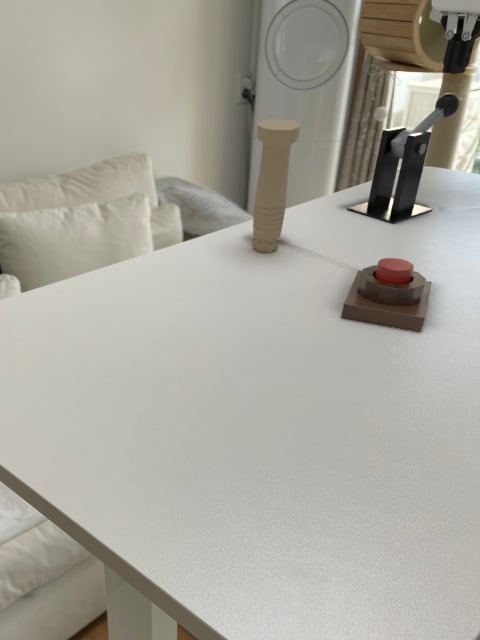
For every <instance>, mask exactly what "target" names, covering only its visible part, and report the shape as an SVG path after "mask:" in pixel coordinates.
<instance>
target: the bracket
mask: <svg viewBox="0 0 480 640" xmlns="http://www.w3.org/2000/svg"><path fill="white" fill-rule="evenodd" d="M403 130H404V131H407V127H406V126H396V127H391V128H386V129H382V131H381V134H380V135H381V136H380V141H379V146H378V150H377V155H376V161H375V164H374V165H375V166H374V171H373V176H372V181H371V186H370V192H369V196H368V201H366V202H364V203H360V204H357V205H353V206H350V207H347V208H346V211H348V212H352V213H354V214H358V215H361V216H365V217H368V218H371V219H374V220H378V221H381V222H385V223H387V224H391V225H395V224H399V223H401V222H404V221H408V220H411V219H413V218H417V217H419V216H422V215H425V214H429V213H431V212H433V208H430V207H427V206H423V205H420V204H415V203H416V199H417V197H418V196H417V195H418V192H419V187H420V183H421V178H422V175H423V170H424V166H425V162H426V159H427V154H428V150H429V146H430V141H431V137H432V132H431V131H428V130H427V131H425V132H420V133H415V134H411V135H408V136H407V140H406V145H405V149H404V154H403V158H402V159H400V158H395V157H392V153H391V141H392V140H393V139H394V138H395V137H396V136H398V135H399V134H400V133H401V132H402V131H403ZM400 160H401V163H400ZM399 163H400V167H399ZM398 168H399V171H398ZM397 174H398V178H397V182H396V177H397ZM395 182H396V187H395ZM394 187H395V191H394ZM393 191H394V194H393ZM392 195H393V197H392Z"/></svg>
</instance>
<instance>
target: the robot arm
mask: <svg viewBox="0 0 480 640" xmlns="http://www.w3.org/2000/svg"><path fill="white" fill-rule="evenodd" d="M468 14H469V15H468ZM428 17H429V20H431V21H433V22H435V23H437V24H441V26H442V28H443V30H444V32H445V38H446V39H447V45H446V48H445V52H444V55H443V56H444V57H443V61H442V65H443V68H442V73H443V74H450V75H459V74H464V73H465V72H466V69H467V67H468V66H469V64H470V61H471V57H472V53H473V50H474V46H475V43H476V41H478V40H479V39H480V0H431V10H430V12H429V15H428ZM467 17H468V18H467Z"/></svg>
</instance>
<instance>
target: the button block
mask: <svg viewBox="0 0 480 640" xmlns="http://www.w3.org/2000/svg"><path fill="white" fill-rule="evenodd" d="M377 265H378V264H377ZM377 265H376V264H375V265H371V266H367V267H365V268H364V267H363V268H362V270H357V273H356V275H355V278H354V279H353V282H352V284H351V287H350V288H349V291H348V293H347V295H346V298H345V300H344V302H343V305H342V310H341V316H340V318H341V319H343V320H349V321H355V322H360V323H365V324H370V325H377V326H382V327H386V326H387V327H388V328H392V327H394V328H393V329H397V328H399V329H398V330H403V329H404V331H408V330H410V331H409V332H414V331H415V332H414V333H419V332H421V333H422V330H423V327H424V323H425V319H426V313H427V309H428V303H429V299H430V298H429V297H430V292H431V287H432V281H428V280H427V278H426V277H425V276H423V275H422V274H421V273H420V272H419V271H415V270H413V272H412V276H411V280H410V283H408V284H397V285H396V284H390V283H384V282H382V281H379V280H377V279H376V278H375V274H376V269H377ZM387 327H386V328H387Z"/></svg>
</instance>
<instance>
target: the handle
mask: <svg viewBox="0 0 480 640" xmlns="http://www.w3.org/2000/svg"><path fill="white" fill-rule="evenodd" d="M300 130H301V123H299V122H297V121H296V120H291V119H283V118H267V119H263V120H260V121H258V123H257V128H256V138H257V139H258V140H259V141H260V142H261V144H262V150H261V158H260V165H259V172H258V179H257V183H256V184H257V185H256V189H255V190H256V191H255V197H254V205H253V220H252V235H253V237H252V248H253V250H256V251H257V252H258V253H267V254H271V253H272V252H276V251H277V250H278V249H279V246H280V238H281V234H282V231H283V225H284V221H285V220H284V219H285V214H286V206H287V196H288V195H287V194H288V179H289V165H290V154H291V148H292V147H291V146H292V144H295V143H296V142H297V141H298V140H299V137H300Z"/></svg>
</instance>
